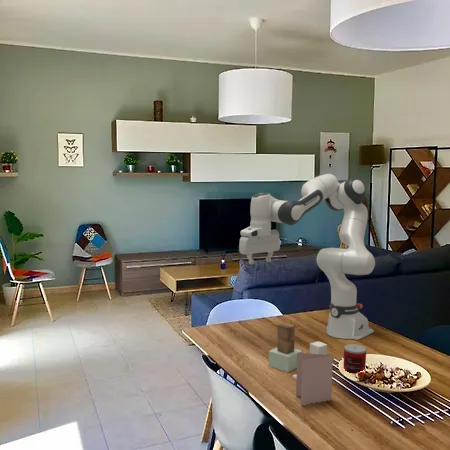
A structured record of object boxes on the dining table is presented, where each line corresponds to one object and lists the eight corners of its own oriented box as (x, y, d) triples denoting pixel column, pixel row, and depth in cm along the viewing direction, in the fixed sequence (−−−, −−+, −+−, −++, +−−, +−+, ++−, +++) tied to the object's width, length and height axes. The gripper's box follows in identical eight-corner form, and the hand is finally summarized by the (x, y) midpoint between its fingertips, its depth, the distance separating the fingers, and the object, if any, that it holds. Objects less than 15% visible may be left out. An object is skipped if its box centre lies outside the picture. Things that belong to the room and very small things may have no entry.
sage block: (282, 359, 197) (283, 344, 197) (301, 366, 191) (302, 350, 191) (268, 366, 191) (268, 351, 190) (287, 372, 185) (288, 357, 184)
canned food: (356, 371, 186) (358, 342, 185) (369, 380, 178) (370, 350, 177) (338, 374, 183) (339, 345, 182) (350, 383, 176) (352, 352, 175)
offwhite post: (317, 366, 190) (318, 341, 189) (326, 370, 187) (327, 344, 185) (309, 369, 188) (309, 343, 186) (318, 373, 184) (318, 347, 183)
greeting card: (331, 398, 164) (332, 354, 162) (330, 409, 157) (332, 363, 155) (296, 394, 167) (297, 351, 165) (294, 405, 159) (295, 359, 158)
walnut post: (285, 348, 193) (285, 322, 192) (294, 351, 190) (294, 325, 189) (277, 350, 190) (277, 325, 189) (286, 354, 187) (286, 328, 186)
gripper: (273, 228, 222) (273, 259, 224) (237, 231, 210) (236, 264, 212) (283, 229, 217) (282, 261, 219) (246, 233, 205) (246, 266, 207)
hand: (259, 262), depth 215 cm, fingers open, 8 cm apart
